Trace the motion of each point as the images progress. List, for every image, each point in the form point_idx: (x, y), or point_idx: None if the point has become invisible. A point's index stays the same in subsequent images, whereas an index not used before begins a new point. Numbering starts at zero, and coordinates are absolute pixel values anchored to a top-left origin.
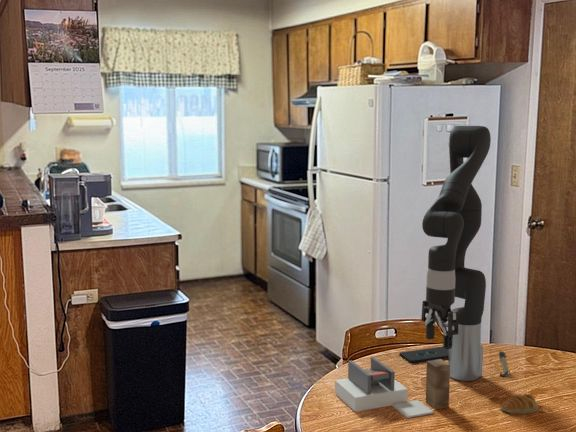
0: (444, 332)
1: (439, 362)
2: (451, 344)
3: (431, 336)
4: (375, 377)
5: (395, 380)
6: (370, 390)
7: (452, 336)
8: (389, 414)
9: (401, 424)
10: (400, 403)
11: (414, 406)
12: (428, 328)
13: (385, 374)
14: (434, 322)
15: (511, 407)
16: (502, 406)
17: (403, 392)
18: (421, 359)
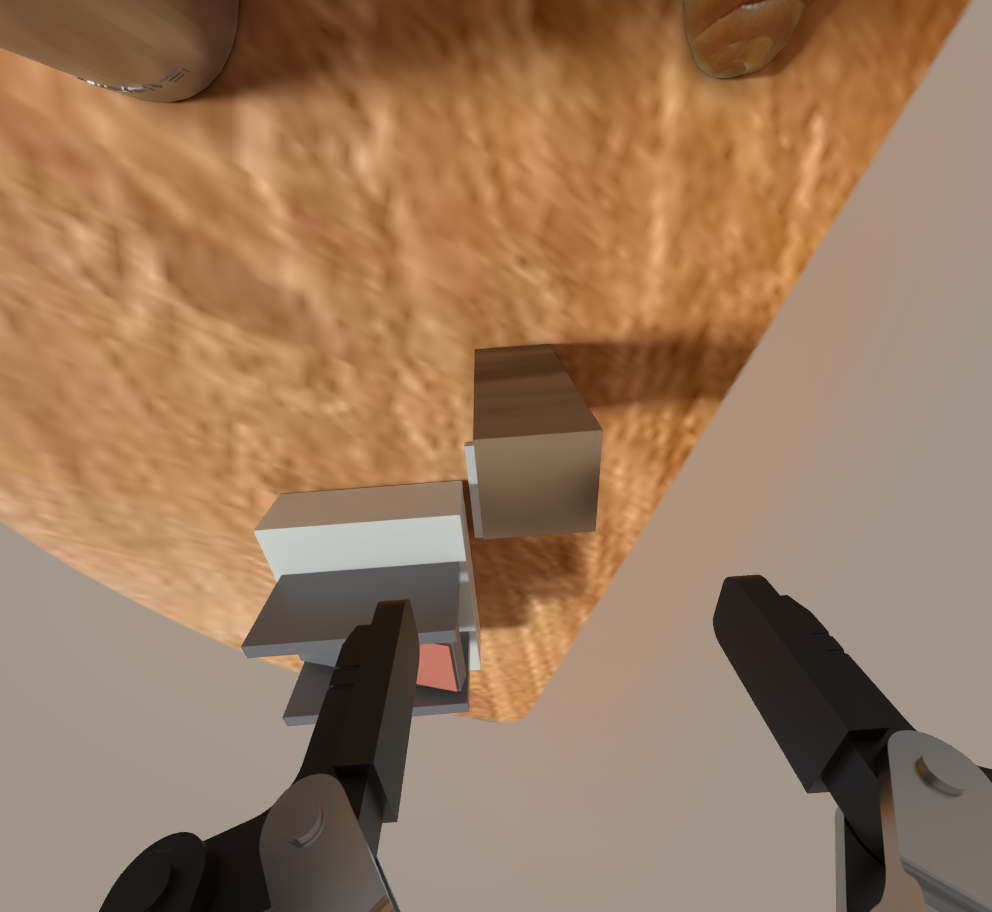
0: (865, 854)
1: (535, 479)
2: (819, 631)
3: (408, 642)
4: (462, 675)
5: (356, 523)
6: (468, 644)
7: (913, 729)
8: (529, 559)
9: (607, 553)
10: (475, 512)
11: None
12: (398, 782)
13: (454, 650)
14: (371, 854)
15: (796, 24)
16: (729, 68)
17: (462, 522)
18: None
